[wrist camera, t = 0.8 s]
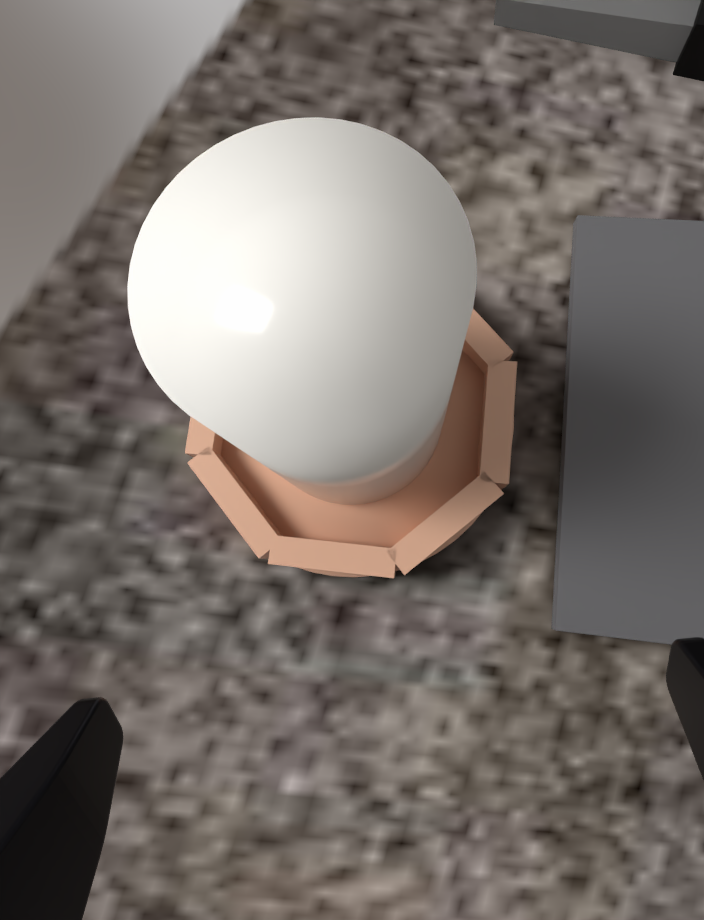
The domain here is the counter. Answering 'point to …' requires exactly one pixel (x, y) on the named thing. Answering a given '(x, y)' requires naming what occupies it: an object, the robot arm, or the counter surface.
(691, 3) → the door handle
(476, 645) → the counter surface
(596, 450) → the dark grey flat plate
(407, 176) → the white smooth rounded cylinder
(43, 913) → the robot arm
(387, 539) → the dish
